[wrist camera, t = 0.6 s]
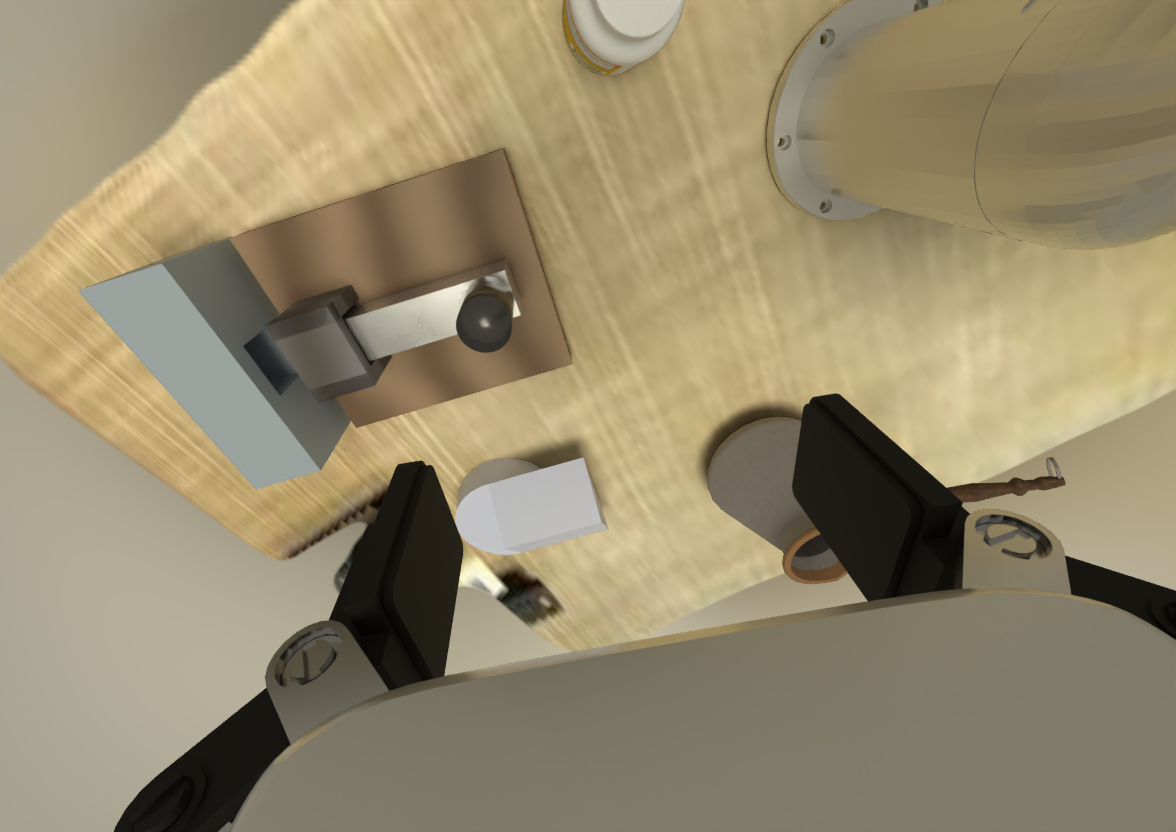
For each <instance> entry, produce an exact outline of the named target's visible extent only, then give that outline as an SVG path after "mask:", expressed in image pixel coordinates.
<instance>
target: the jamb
mask: <svg viewBox="0 0 1176 832" xmlns="http://www.w3.org/2000/svg"><path fill="white" fill-rule="evenodd" d="M230 238H232V237H230ZM78 291H79V292H80V294H81V295H82V296H83V297H84V298H85V299H86V300H87V301H88V303H89V304H90V305H91V306H92V307H93V308H94V309H95V310H96V311H97V313H98V314H99V315H100V316H101V317H102V318H103V319H104V320H105V322H106V323H107V324H108V325H109V326H110V327H111V328H112V329H113V330H114V332H115V333H116V334H117V335H118V336H119V337H120V338H121V339H122V341H123V342H124V343H125V344H126V345H127V346H128V347H129V348H130V349H131V351H132V352H133V353H134V354H135V355H136V356H137V357H138V358H139V360H140V361H141V362H142V363H143V364H144V365H145V366H146V367H147V368H148V370H149V371H150V372H151V373H152V374H153V375H154V376H155V377H156V379H157V380H158V381H159V382H160V383H161V384H162V385H163V386H164V387H165V389H166V390H167V391H168V392H169V393H170V394H171V395H172V396H173V398H174V399H175V400H176V401H177V402H178V403H179V404H180V405H181V406H182V408H183V409H184V410H185V411H186V412H187V413H188V414H189V415H190V417H191V418H192V419H193V420H194V421H195V422H196V423H197V424H198V426H199V427H200V428H201V429H202V430H203V431H204V432H205V433H206V434H207V436H208V437H209V438H210V439H211V440H212V441H213V442H214V443H215V445H216V446H217V447H218V448H219V449H220V450H221V451H222V452H223V453H224V455H225V456H226V457H227V458H228V459H229V460H230V461H231V462H232V464H233V465H234V466H235V467H236V468H237V469H238V470H239V471H240V472H241V474H242V475H243V476H244V477H245V478H246V479H247V480H248V481H249V483H250V484H251V485H252V486H253V487H254V488H255V489H259V488H263V487H266V486H270V485H273V484H277V483H280V482H283V481H287V480H290V479H294V478H297V477H301V476H304V475H307V474H311V473H314V472H318V471H321V469H322V468H323V466H324V464H325V463H326V461H327V459H328V458H329V456H330V454H331V453H332V451H333V450H334V448H335V446H336V445H337V443H338V441H339V440H340V438H341V436H342V435H343V433H344V431H345V430H346V428H347V426H348V425H349V423H350V421H351V419H350V418H349V416H348V415H347V413H346V412H345V411H344V409H343V408H342V406H341V405H340V403H339V402H338V400H337V399H336V398H333V399H330V400H326V401H323V402H320V403H318V402H317V401H316V399H315V398H314V396H313V395H312V393H311V392H310V390H309V389H308V388H307V386H306V385H305V383H304V382H303V380H302V379H301V378H300V376H299V375H298V373H297V372H296V370H295V369H294V368H293V366H292V365H291V363H290V362H289V360H288V359H287V358H286V356H285V355H284V353H283V352H282V350H281V349H280V348H279V346H278V345H277V343H276V342H275V340H274V339H273V338H272V336H271V335H270V333H269V332H268V330H267V329H266V328H265V325H267V324H268V323H269V322H271V321H272V320H273V319H274V318H276V317H277V316H278V315H280V313H279V312H278V310H277V309H276V307H275V306H274V304H273V303H272V301H271V300H270V298H269V297H268V295H267V294H266V292H265V291H264V289H263V288H262V286H261V285H260V283H259V282H258V280H257V279H256V277H255V276H254V274H253V273H252V272H251V270H250V269H249V267H248V266H247V264H246V263H245V261H244V260H243V258H242V257H241V255H240V254H239V252H238V251H237V249H236V248H235V246H234V245H233V243H232V242H231V240H230V239H229V238H226V239H223V240H220V241H217V242H214V243H211V244H208V245H205V246H202V247H199V248H196V249H193V250H190V251H187V252H183V253H180V254H177V255H174V256H171V257H168V258H165V259H162V260H159V261H157V262H154V263H151V264H149V265H146V266H143V267H140V268H138V269H135V270H132V271H130V272H127V273H124V274H122V275H119V276H116V277H114V278H111V279H108V280H105V281H103V282H100V283H97V284H95V285H92V286H89V287H87V288H84V289H81V290H78Z"/></svg>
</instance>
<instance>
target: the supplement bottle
mask: <svg viewBox="0 0 1176 832" xmlns="http://www.w3.org/2000/svg"><path fill="white" fill-rule="evenodd" d="M684 1H685V0H563V10H562V20H563V29H564V34H565V38H566V41H567V43H568V46H569V48H570V50H571V52H572V53H573V55H574V56H575V58H576V59H577V60H578V61H579V62H580V64H582V65H583V66H584V67H585V68H586V69H588V70H590V71H592V72H594V73H596V74H599V75H606V76H611V75H617V74H620V73H623V72H625V71H627V70H629V69H631V68H633V67H634V66H636V65H638V64H640V63H642V62H644V61H646V60H647V59H649V58H650V57H652V56H653V55H655V54H656V53H657V52H658V51H659V50H660V49H661V48H662V47H663V46H664V45H665V44H666V43H667V41H668V40H669V39H670V37H671V36H672V34H673V32H674V30H675V28H676V27H677V24H678V22H679V19H680V17H681V14H682V10H683V6H684Z"/></svg>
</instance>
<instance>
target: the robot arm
mask: <svg viewBox="0 0 1176 832" xmlns="http://www.w3.org/2000/svg"><path fill="white" fill-rule="evenodd" d="M913 9H914V10H913ZM821 36H823V42H822V44H821V43H820V38H821ZM780 138H781V139H782V143H781V145H780V146H778V142H779V139H780ZM767 153H768V158H769V164H770V169H771V172H772V174H773V177H774V179H775V182H776V184H777V186H778V187H779V189H780V190H781V192H782V193H783V195H784V196H785V198H786V199H787V200H788V201H790V202H791V203H792V204H793V205H794V206H795V207H796V208H798V209H800V210H801V211H803V212H805V213H807V214H809V215H812V216H815V217H818V218H821V219H827V220H836V221H842V220H852V219H857V218H860V217H864V216H867V215H870V214H873V213H875V212H877V211H879V210H881V209H883V208H887V209H891V210H895V211H899V212H904V213H908V214H912V215H916V216H920V217H924V218H929V219H933V220H937V221H941V222H945V223H949V224H953V225H958V226H962V227H966V228H970V229H974V230H978V231H983V232H987V233H991V234H995V235H999V236H1003V237H1007V238H1012V239H1016V240H1020V241H1026V242H1031V243H1035V244H1039V245H1044V246H1049V247H1056V248H1062V249H1076V250H1092V249H1102V248H1112V247H1119V246H1124V245H1129V244H1133V243H1137V242H1141V241H1144V240H1148V239H1152V238H1155V237H1158V236H1161V235H1164V234H1167V233H1170V232H1172V231H1175V230H1176V0H953V1H949V2H946V3H945V2H944V1H942V0H850V1H848V2H846V3H844V4H843V5H841V6H839V7H837V8H836V9H835V10H833V11H832V12H831V13H830V14H829V15H827V16H826V17H825V18H824V19H823V20H821V21H820V22H819V23H818V24H817V25H816V26H815V27H814V28H813V29H812V31H811V32H810V33H809V34H808V35H807V36H806V37H805V39H804V40H803V41H802V42H801V43H800V45H799V46H798V48H797V50H796V51H795V53H794V54H793V56H792V57H791V59H790V60H789V62H788V63H787V66H786V68H785V70H784V72H783V74H782V76H781V78H780V81H779V83H778V85H777V88H776V91H775V94H774V98H773V101H772V104H771V107H770V113H769V120H768V126H767ZM821 203H822V206H821V207H820V205H821ZM792 491H793V494H794V497H795V499H796V500H797V502H798V503H799V505H800V506H801V507H802V509H803V510H804V512H805V513H806V514H807V516H808V517H809V519H810V520H811V522H812V523H813V524H814V526H815V527H816V529H817V530H818V531H819V533H820V534H821V536H822V537H823V538H824V540H825V541H826V543H827V544H828V546H829V547H830V548H831V550H832V551H833V553H834V554H835V555H836V557H837V558H838V560H839V561H840V563H841V564H842V565H843V567H844V568H845V570H846V571H847V572H848V574H849V575H850V577H851V578H852V579H853V581H854V582H855V584H856V585H857V587H858V588H859V589H860V591H861V592H862V594H863V595H864V596H865V598H866V599H867V602H861V603H855V604H849V605H843V606H837V607H832V608H825V609H819V610H813V611H807V612H802V613H795V614H789V615H783V616H777V617H771V618H766V619H759V620H753V621H747V622H742V623H736V624H730V625H724V626H719V627H713V628H707V629H701V630H695V631H689V632H684V633H678V634H672V635H666V636H661V637H655V638H649V639H643V640H637V641H632V642H626V643H620V644H615V645H609V646H603V647H598V648H592V649H587V650H581V651H575V652H570V653H564V654H559V655H553V656H548V657H542V658H536V659H531V660H525V661H520V662H514V663H509V664H504V665H499V666H494V667H488V668H483V669H478V670H473V671H468V672H463V673H458V674H453V675H447V676H444V674H445V667H446V661H447V654H448V648H449V642H450V635H451V628H452V622H453V616H454V609H455V603H456V596H457V590H458V584H459V577H460V571H461V564H462V558H463V544H462V540H461V537H460V535H459V532H458V529H457V527H456V524H455V522H454V519H453V516H452V514H451V511H450V509H449V506H448V503H447V501H446V498H445V496H444V493H443V490H442V488H441V485H440V483H439V480H438V478H437V475H436V472H435V470H434V468H433V466H432V465H427V466H426V465H425V463H424V462H423V461H415V462H409V463H403V464H399V465H397V467H396V469H395V471H394V474H393V477H392V479H391V482H390V484H389V487H388V489H387V492H386V495H385V497H384V500H383V502H382V505H381V507H380V510H379V512H378V515H377V518H376V520H375V522H372V523H370V524H369V525H368V526H367V528H366V530H365V532H364V534H363V537H362V539H361V542H360V544H359V547H358V549H357V552H356V554H355V557H354V559H353V562H352V564H351V567H350V569H349V571H348V574H347V576H346V579H345V581H344V584H343V586H342V589H341V591H340V594H339V596H338V599H337V601H336V604H335V606H334V609H333V611H332V613H331V616H330V619H329V620H328V621H320V622H317V623H314V624H311V625H308V626H307V627H305V628H303V629H301V630H300V631H298V632H296V633H295V634H294V635H293V636H291V637H290V638H289V639H288V640H286V641H285V642H284V643H283V644H282V646H281V647H280V648H279V649H278V650H277V652H276V653H275V654H274V656H273V657H272V659H271V661H270V663H269V665H268V667H267V671H266V675H265V681H266V687H267V688H266V689H264V690H263V691H262V692H261V693H259V694H258V695H257V696H256V697H255V698H253V699H252V700H251V701H250V702H248V703H247V704H246V705H244V706H243V707H242V708H241V709H240V710H238V711H237V712H236V713H235V714H233V715H232V716H231V717H230V718H228V719H227V720H226V721H225V722H223V723H222V724H221V725H220V726H218V727H217V728H216V729H215V730H213V731H212V732H211V733H210V734H208V735H207V736H206V737H205V738H203V739H202V740H201V741H200V742H198V743H197V744H196V745H195V746H194V747H192V748H191V749H190V750H189V751H187V752H186V753H185V754H184V755H182V756H181V757H180V758H179V759H177V760H176V761H175V762H174V763H172V764H171V765H170V766H169V767H167V768H166V769H165V770H164V771H163V772H161V773H160V774H159V775H158V776H156V777H155V778H154V779H153V780H152V781H151V782H150V783H149V784H148V785H147V786H145V787H144V788H143V789H142V790H141V791H140V792H139V793H138V795H137V796H136V797H135V798H134V800H133V801H132V802H131V803H130V805H129V806H128V807H127V808H126V810H125V812H124V813H123V815H122V817H121V818H120V820H119V822H118V823H117V825H116V827H115V830H114V832H1176V591H1175V590H1172V589H1169V588H1165V587H1162V586H1159V585H1156V584H1153V583H1150V582H1146V581H1144V580H1140V579H1137V578H1134V577H1131V576H1128V575H1124V574H1122V573H1118V572H1115V571H1112V570H1109V569H1106V568H1103V567H1099V566H1096V565H1093V564H1090V563H1087V562H1084V561H1080V560H1077V559H1074V558H1071V557H1068V556H1065V553H1064V549H1063V547H1062V545H1061V542H1060V540H1059V539H1058V538H1057V537H1056V536H1055V535H1054V534H1053V533H1052V532H1051V531H1050V530H1048V529H1047V528H1046V527H1044V526H1043V525H1041V524H1040V523H1038V522H1036V521H1034V520H1032V519H1030V518H1028V517H1026V516H1023V515H1020V514H1017V513H1014V512H1010V511H1005V510H999V509H983V510H978V511H975V512H973V513H971V514H970V513H968V512H967V511H966V510H965V509H964V508H963V507H962V503H963V502H962V501H961V500H960V499H958V498H957V497H956V496H955V495H954V494H953V493H952V492H950V491H949V490H948V489H947V488H946V487H945V486H944V485H942V484H941V483H940V482H939V481H938V480H937V479H936V478H934V477H933V476H932V475H931V474H930V473H929V472H928V471H926V470H925V469H924V468H923V467H922V466H921V465H920V464H918V463H917V462H916V461H915V460H914V459H913V458H912V457H910V456H909V455H908V454H907V453H906V452H905V451H904V450H902V449H901V448H900V447H899V446H898V445H897V444H896V443H895V442H893V441H892V440H891V439H890V438H889V437H888V436H887V435H885V434H884V433H883V432H882V431H881V430H880V429H879V428H877V427H876V426H875V425H874V424H873V423H872V422H871V421H869V420H868V419H867V418H866V417H865V416H864V415H863V414H861V413H860V412H859V411H858V410H857V409H856V408H855V407H853V406H852V405H851V404H850V403H849V402H848V401H847V400H845V399H844V398H843V397H842V396H841V395H839V394H829V395H823V396H817V397H813V398H812V399H811V400H810V403H809V404H806V405H805V406H804V409H803V414H802V421H801V428H800V435H799V441H798V448H797V455H796V461H795V468H794V475H793V482H792Z"/></svg>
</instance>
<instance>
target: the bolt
mask: <svg viewBox="0 0 1176 832" xmlns="http://www.w3.org/2000/svg"><path fill="white" fill-rule="evenodd" d="M521 303H522V300H521V297H520V294H519V292H518V289H517V286H516V283H515V281H514V278H513V275H512V272H511V270H510V267H509V264H508V261H507V259H503V260H500V261H497V262H493V263H490V264H487V265H484V266H481V267H477V268H474V269H471V270H468V271H464V272H461V273H458V274H455V275H452V276H448V277H445V278H442V279H439V280H436V281H432V282H429V283H426V284H423V285H419V286H416V287H413V288H410V289H407V290H403V291H400V292H397V293H394V294H391V295H387V296H384V297H381V298H378V299H374V300H371V301H368V302H365V303H362V304H358V305H355V306H352V307H350V308H349V309H348V310H347V311H346V312H345V313H344V315H343V316H342V319H343V321H344V322H345V324H346V326H347V327H348V329H349V331H350V332H351V334H352V336H353V337H354V339H355V341H356V343H357V344H358V346H359V348H360V349H361V351H362V353H363V354H364V356H365V358H366V359H367V361H371V360H375V359H378V358H381V357H385V356H388V355H391V354H394V353H398V352H401V351H404V350H408V349H411V348H414V347H418V346H421V345H424V344H427V343H431V342H434V341H437V340H441V339H444V338H447V337H451V336H454V335H457V334H458V336H459V338H460V339H461V341H462V342H463V343H464V344H465V345H466V346H467V347H469V348H470V349H472V350H474V351H477V352H482V353H490V352H494V351H497V350H499V349H501V348H502V347H503V346H505V345H506V343H507V342H508V340H509V339H510V336H511V331H512V321H513V317H516V316H520V315H521Z"/></svg>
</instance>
